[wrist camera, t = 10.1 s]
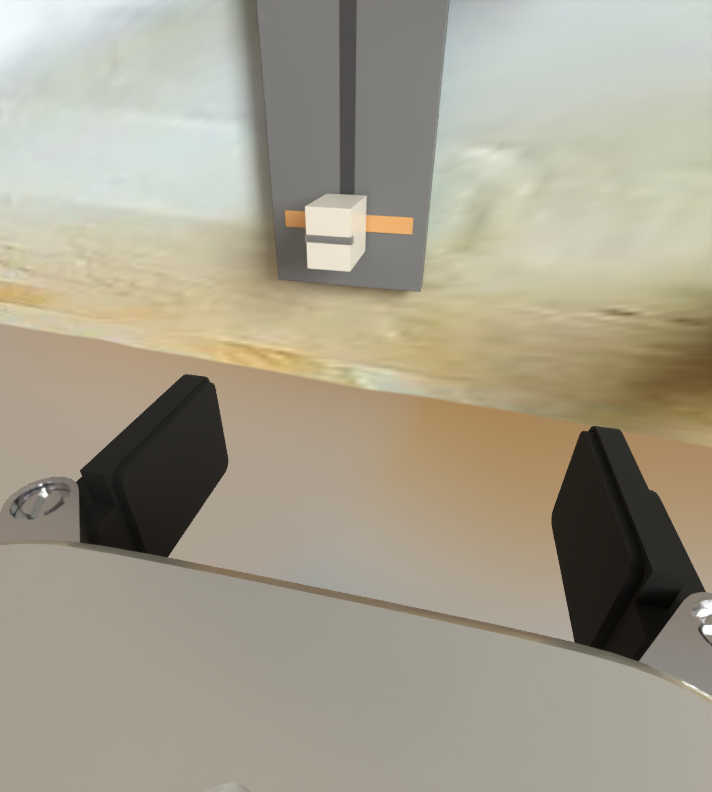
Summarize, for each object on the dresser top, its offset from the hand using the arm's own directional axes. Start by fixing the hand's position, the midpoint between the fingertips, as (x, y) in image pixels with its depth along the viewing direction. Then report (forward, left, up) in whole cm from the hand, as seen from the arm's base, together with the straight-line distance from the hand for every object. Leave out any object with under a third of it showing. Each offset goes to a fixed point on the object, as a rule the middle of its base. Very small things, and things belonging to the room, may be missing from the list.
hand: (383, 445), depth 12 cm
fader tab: (+7, 0, -26) cm, 27 cm away
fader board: (+7, -7, -28) cm, 30 cm away
